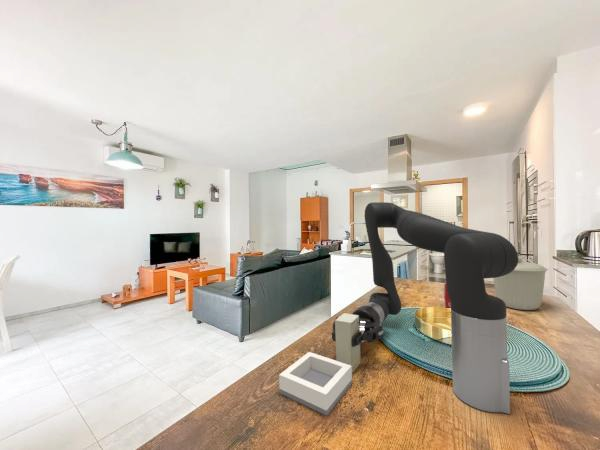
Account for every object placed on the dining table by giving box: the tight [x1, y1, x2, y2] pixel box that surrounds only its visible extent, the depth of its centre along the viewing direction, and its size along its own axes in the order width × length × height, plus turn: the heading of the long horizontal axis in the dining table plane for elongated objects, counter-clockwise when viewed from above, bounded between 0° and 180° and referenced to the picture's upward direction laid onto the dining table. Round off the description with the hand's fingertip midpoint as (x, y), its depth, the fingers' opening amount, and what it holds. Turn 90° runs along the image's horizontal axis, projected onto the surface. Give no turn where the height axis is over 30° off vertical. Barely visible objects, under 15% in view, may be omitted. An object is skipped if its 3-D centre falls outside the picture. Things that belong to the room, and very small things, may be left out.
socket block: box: [278, 351, 353, 417], centre depth 55 cm, size 12×12×4 cm
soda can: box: [443, 281, 451, 309], centre depth 100 cm, size 7×7×12 cm
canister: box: [492, 255, 549, 311], centre depth 104 cm, size 18×18×21 cm
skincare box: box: [334, 312, 362, 374], centre depth 63 cm, size 6×4×12 cm
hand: (343, 339), depth 61 cm, fingers closed on skincare box, 4 cm apart
